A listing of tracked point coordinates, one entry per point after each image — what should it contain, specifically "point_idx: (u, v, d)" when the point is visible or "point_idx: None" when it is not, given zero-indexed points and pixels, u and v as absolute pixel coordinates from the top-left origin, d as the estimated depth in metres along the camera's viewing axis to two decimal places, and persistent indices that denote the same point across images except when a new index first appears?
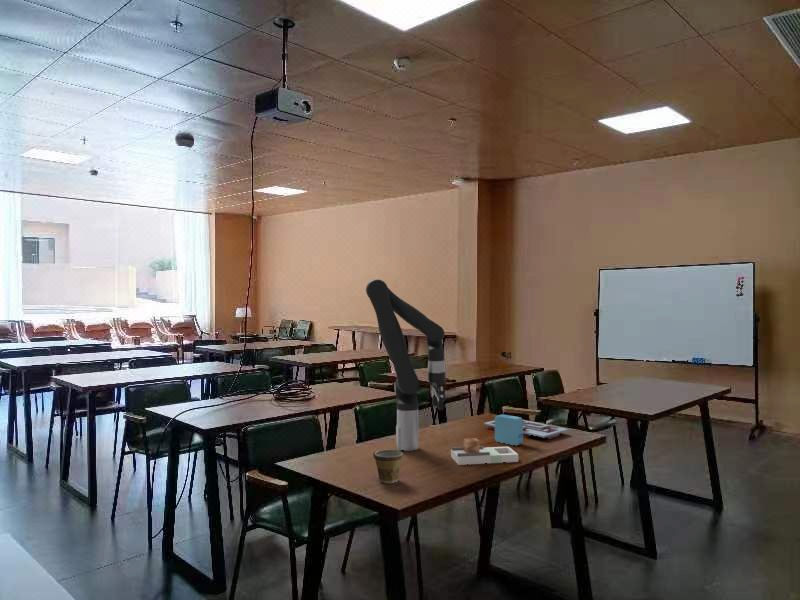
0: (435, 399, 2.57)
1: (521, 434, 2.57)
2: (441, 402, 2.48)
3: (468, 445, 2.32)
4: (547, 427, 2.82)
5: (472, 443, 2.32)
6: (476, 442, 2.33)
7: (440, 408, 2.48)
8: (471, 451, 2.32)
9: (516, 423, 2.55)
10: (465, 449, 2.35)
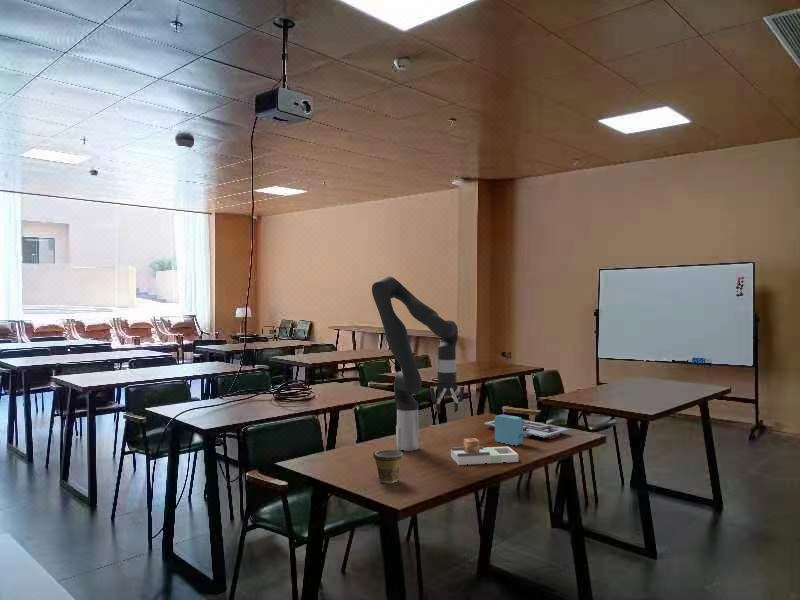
0: None
1: (521, 434, 2.57)
2: None
3: (468, 445, 2.32)
4: (547, 427, 2.82)
5: (472, 443, 2.32)
6: (476, 442, 2.33)
7: (457, 410, 2.33)
8: (471, 451, 2.32)
9: (516, 423, 2.55)
10: (465, 449, 2.35)
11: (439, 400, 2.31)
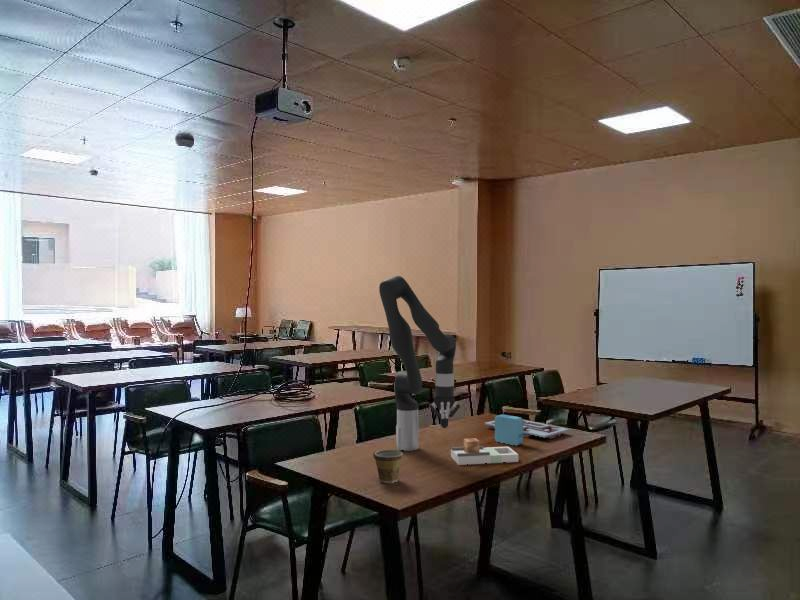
0: None
1: (521, 434, 2.57)
2: None
3: (468, 445, 2.32)
4: (548, 427, 2.82)
5: (472, 443, 2.32)
6: (476, 442, 2.33)
7: (447, 425, 2.32)
8: (471, 451, 2.32)
9: (516, 423, 2.55)
10: (465, 449, 2.35)
11: (442, 415, 2.31)
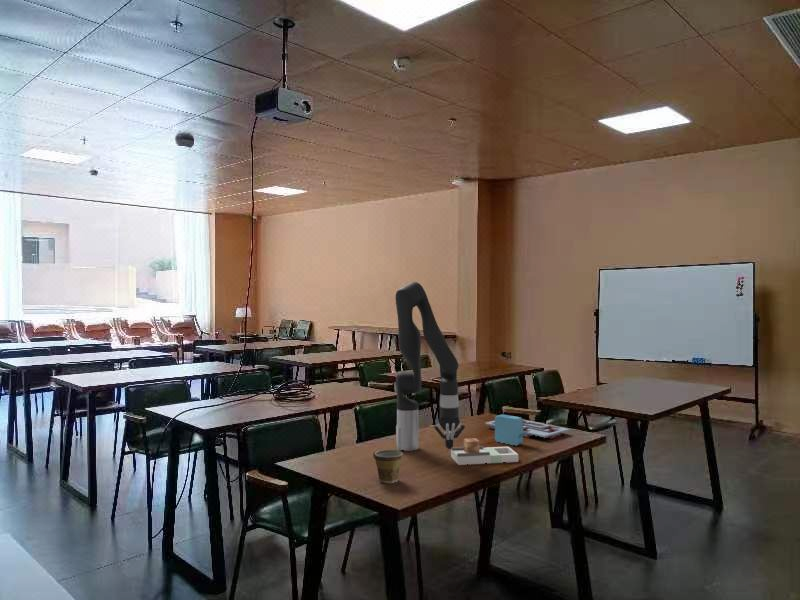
0: None
1: (521, 434, 2.57)
2: None
3: (468, 445, 2.32)
4: (548, 427, 2.82)
5: (472, 443, 2.32)
6: (476, 442, 2.33)
7: (452, 446, 2.33)
8: (471, 451, 2.32)
9: (516, 423, 2.55)
10: (465, 449, 2.35)
11: (447, 436, 2.32)
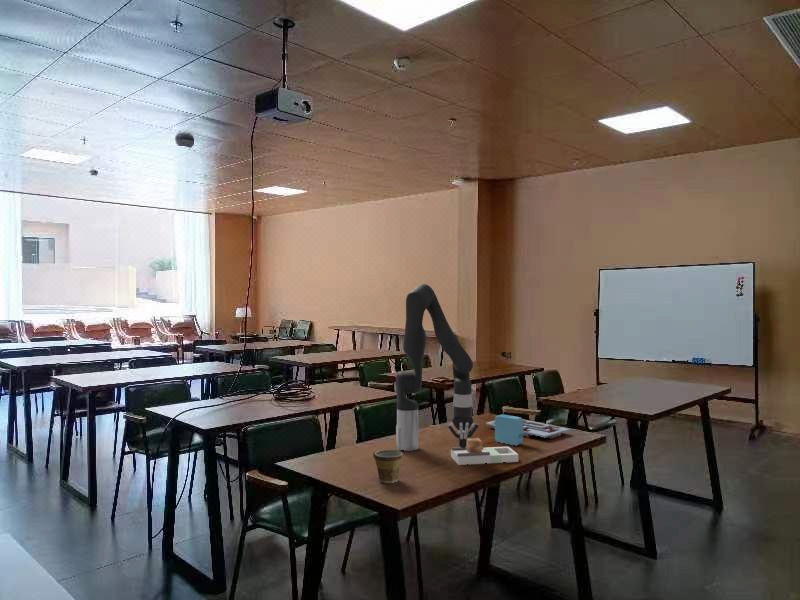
0: None
1: (521, 434, 2.57)
2: None
3: (471, 445, 2.32)
4: (549, 427, 2.82)
5: (475, 443, 2.33)
6: (479, 442, 2.33)
7: (466, 445, 2.34)
8: (474, 451, 2.33)
9: (516, 423, 2.55)
10: (468, 449, 2.35)
11: (461, 435, 2.33)
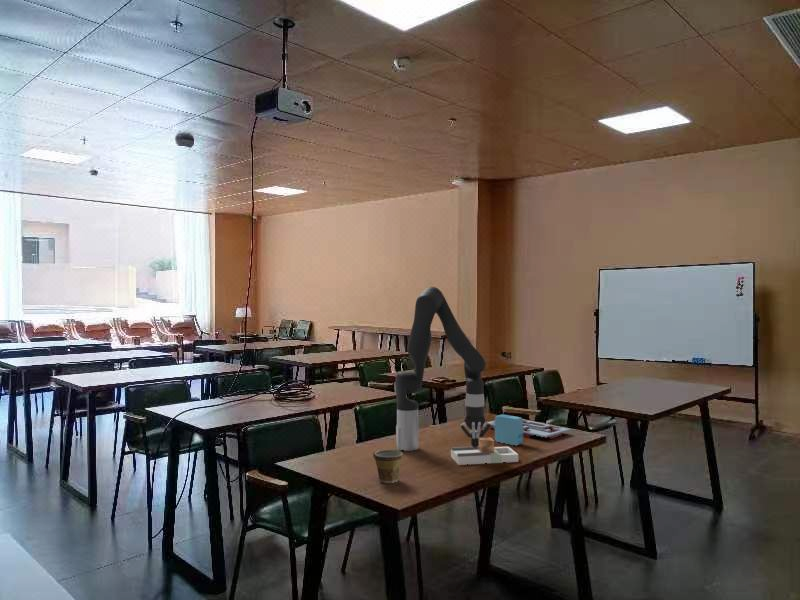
0: None
1: (521, 434, 2.57)
2: None
3: (483, 444, 2.33)
4: (549, 427, 2.82)
5: (487, 442, 2.33)
6: (491, 441, 2.34)
7: None
8: (486, 450, 2.33)
9: (516, 423, 2.55)
10: (480, 448, 2.36)
11: (473, 435, 2.34)
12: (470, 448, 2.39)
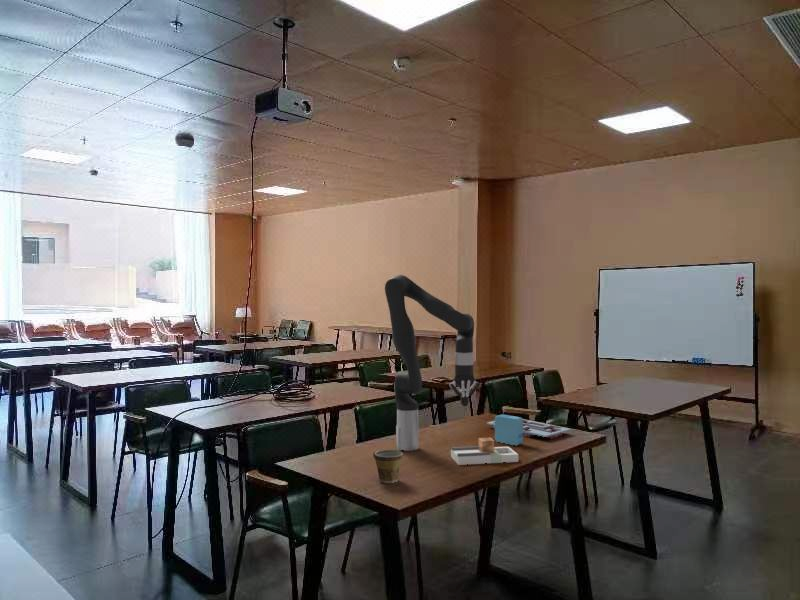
0: None
1: (521, 434, 2.57)
2: None
3: (483, 444, 2.33)
4: (550, 427, 2.82)
5: (487, 442, 2.33)
6: (491, 441, 2.34)
7: (467, 403, 2.36)
8: (486, 450, 2.33)
9: (516, 423, 2.55)
10: (480, 448, 2.36)
11: (463, 393, 2.35)
12: (470, 448, 2.39)
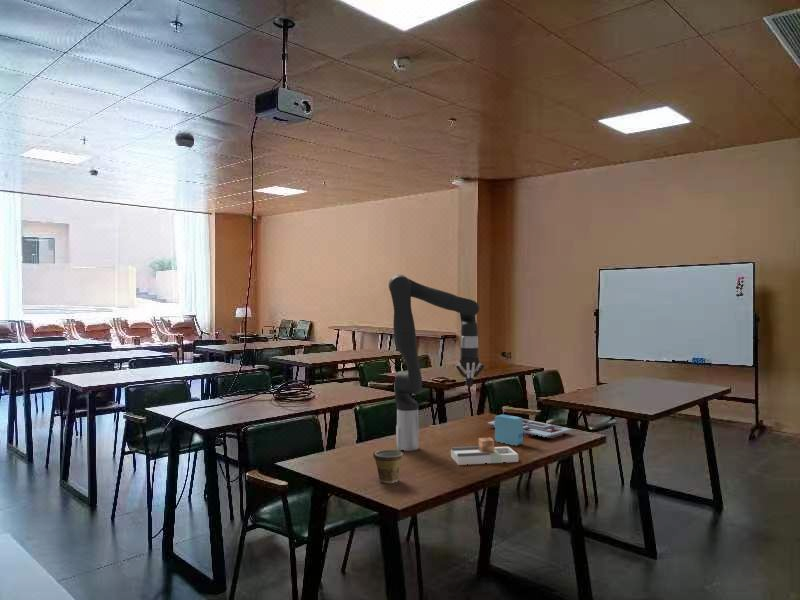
0: None
1: (521, 434, 2.57)
2: None
3: (483, 444, 2.33)
4: (551, 427, 2.82)
5: (487, 442, 2.33)
6: (491, 441, 2.34)
7: (472, 384, 2.50)
8: (486, 450, 2.33)
9: (516, 423, 2.55)
10: (480, 448, 2.36)
11: (468, 375, 2.49)
12: (470, 448, 2.39)
